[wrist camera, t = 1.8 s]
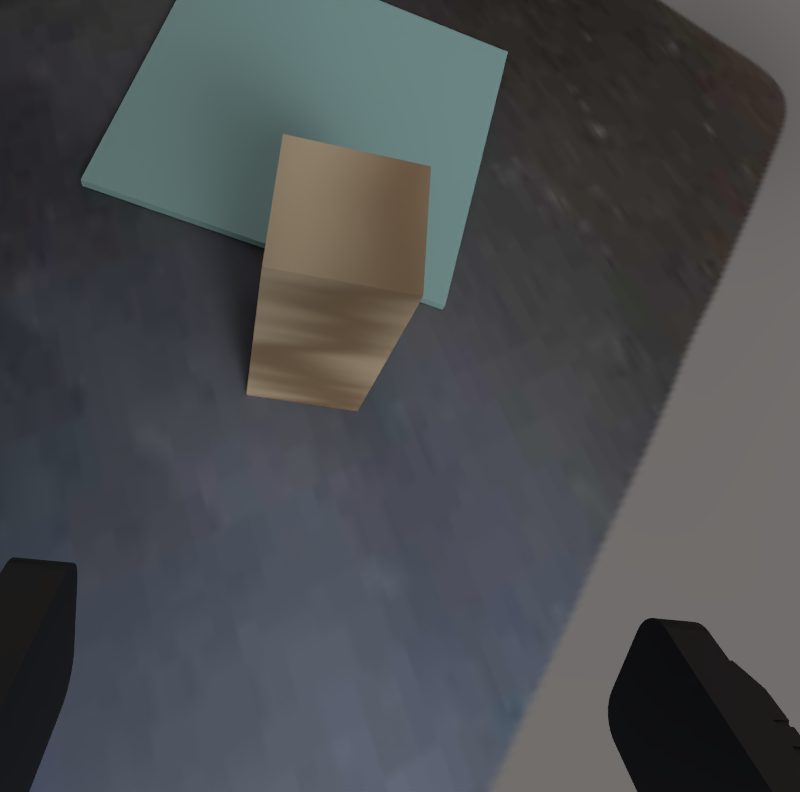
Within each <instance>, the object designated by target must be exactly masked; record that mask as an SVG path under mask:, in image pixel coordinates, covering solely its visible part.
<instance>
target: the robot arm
mask: <svg viewBox="0 0 800 792" xmlns="http://www.w3.org/2000/svg"><path fill="white" fill-rule="evenodd" d="M76 596H77V566H76V564H75V563H69V562H58V561H47V560H36V559H25V558H11V559H10V560H9V561H8V562H7V563H6V565H5V566H4V568H3V569H2V571H1V573H0V792H29V791H30V788H31V786H32V783H33V780H34V778H35V775H36V773H37V770H38V768H39V765H40V762H41V760H42V757H43V755H44V752H45V749H46V747H47V744H48V742H49V739H50V737H51V734H52V731H53V729H54V726H55V724H56V721H57V719H58V716H59V713H60V711H61V708H62V705H63V703H64V699H65V696H66V693H67V689H68V685H69V681H70V676H71V671H72V665H73V657H74V639H75V617H76ZM608 719H609V726H610V731H611V734H612V737H613V740H614V742H615V744H616V747H617V749H618V751H619V753H620V755H621V757H622V760H623V762H624V764H625V766H626V768H627V770H628V772H629V775H630V777H631V779H632V781H633V783H634V785H635V788H636V789H637V792H800V735H799V733H798V732H797V731H796V729H795V728H794V727H790V726H789V720H788V719H787V718H786V716H785V715H784V713H783V712H782V711H781V709H780V708H779V707H778V705H777V704H776V703H775V701H774V700H773V699H772V697H771V696H770V695H769V693H768V692H767V691H766V689H765V688H763V687H762V686H761V685H760V684H759V683H758V682H757V681H755V680H754V679H753V678H752V677H751V676H750V675H748V674H747V673H746V672H745V671H744V670H742V669H741V668H740V667H739V666H738V665H737V664H736V663H734V662H733V661H730V660H729V659H728V658H727V656H726V655H725V654H724V652H723V651H722V649H721V648H720V647H719V645H718V644H717V643H716V641H715V640H714V638H713V637H712V636H711V634H710V633H709V632H708V630H707V629H706V628H705V627H704V626H702V625H701V624H699V623H696V622H688V621H677V620H666V619H656V618H649V619H647V620H645V621H644V622H643V623H642V624H641V625H640V627H639V629H638V631H637V633H636V635H635V638H634V640H633V642H632V645H631V647H630V649H629V652H628V654H627V657H626V659H625V661H624V664H623V666H622V669H621V671H620V673H619V675H618V678H617V680H616V682H615V685H614V687H613V689H612V692H611V695H610V699H609V706H608Z"/></svg>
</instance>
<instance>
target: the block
mask: <svg viewBox="0 0 800 792" xmlns="http://www.w3.org/2000/svg"><path fill="white" fill-rule="evenodd" d="M430 176H431V166H427V165H423V164H418V163H414V162H409V161H404V160H400V159H395V158H391V157H386V156H382V155H377V154H373V153H368V152H363V151H359V150H354V149H350V148H345V147H341V146H336V145H331V144H327V143H322V142H318V141H313V140H309V139H304V138H300V137H295V136H290V135H286V134H283V137H282V143H281V149H280V156H279V162H278V168H277V175H276V181H275V187H274V194H273V200H272V206H271V213H270V219H269V225H268V232H267V238H266V244H265V251H264V257H263V263H262V270H261V279H260V287H259V295H258V303H257V311H256V319H255V328H254V336H253V344H252V352H251V360H250V368H249V377H248V385H247V393H246V395H250V396H257V397H264V398H271V399H278V400H285V401H292V402H299V403H305V404H312V405H319V406H326V407H333V408H340V409H347V410H354V411H358V410H359V408H360V406H361V404H362V403H363V401H364V399H365V397H366V396H367V394H368V392H369V390H370V389H371V387H372V385H373V383H374V382H375V380H376V378H377V376H378V375H379V373H380V371H381V369H382V368H383V366H384V364H385V362H386V361H387V359H388V357H389V355H390V353H391V352H392V350H393V348H394V346H395V345H396V343H397V341H398V339H399V338H400V336H401V334H402V332H403V331H404V329H405V327H406V325H407V324H408V322H409V320H410V318H411V317H412V315H413V313H414V311H415V310H416V308H417V306H418V304H419V303H420V301H421V299H422V297H423V292H424V276H425V259H426V243H427V226H428V209H429V193H430Z"/></svg>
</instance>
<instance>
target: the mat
mask: <svg viewBox="0 0 800 792" xmlns="http://www.w3.org/2000/svg"><path fill="white" fill-rule="evenodd" d="M507 53H508V52H507V51H504V50H502V49H499V48H497V47H494V46H492V45H489V44H487V43H484V42H482V41H479V40H477V39H474V38H472V37H469V36H467V35H464V34H462V33H459V32H457V31H454V30H452V29H449V28H447V27H444V26H442V25H439V24H437V23H434V22H432V21H429V20H427V19H424V18H422V17H419V16H417V15H414V14H412V13H409V12H407V11H404V10H402V9H399V8H397V7H394V6H392V5H389V4H387V3H384V2H382V1H379V0H176V2H175V4H174V6H173V7H172V9H171V11H170V13H169V15H168V17H167V19H166V21H165V22H164V24H163V26H162V28H161V30H160V32H159V34H158V36H157V37H156V39H155V41H154V43H153V45H152V47H151V49H150V51H149V52H148V54H147V56H146V58H145V60H144V62H143V64H142V66H141V67H140V69H139V71H138V73H137V75H136V77H135V79H134V81H133V82H132V84H131V86H130V88H129V90H128V92H127V94H126V96H125V97H124V99H123V101H122V103H121V105H120V107H119V109H118V111H117V112H116V114H115V116H114V118H113V120H112V122H111V124H110V126H109V127H108V129H107V131H106V133H105V135H104V137H103V139H102V141H101V142H100V144H99V146H98V148H97V150H96V152H95V154H94V156H93V157H92V159H91V161H90V163H89V165H88V167H87V169H86V171H85V172H84V174H83V176H82V178H81V183H82V186H84V187H87V188H90V189H93V190H96V191H99V192H102V193H105V194H107V195H110V196H113V197H116V198H119V199H122V200H125V201H128V202H131V203H134V204H137V205H139V206H142V207H145V208H148V209H151V210H154V211H157V212H160V213H163V214H166V215H169V216H171V217H174V218H177V219H180V220H183V221H186V222H189V223H192V224H195V225H198V226H201V227H203V228H206V229H209V230H212V231H215V232H218V233H221V234H224V235H227V236H230V237H232V238H235V239H238V240H241V241H244V242H247V243H250V244H253V245H256V246H259V247H262V248H264V249H265V244H266V238H267V232H268V225H269V219H270V213H271V206H272V200H273V194H274V187H275V181H276V175H277V168H278V162H279V156H280V149H281V143H282V137H283V134H286V135H290V136H295V137H300V138H304V139H309V140H313V141H318V142H322V143H327V144H331V145H336V146H341V147H345V148H350V149H354V150H359V151H363V152H368V153H373V154H377V155H382V156H386V157H391V158H395V159H400V160H404V161H409V162H414V163H418V164H423V165H427V166H431V176H430V193H429V209H428V226H427V243H426V259H425V276H424V292H423V297H422V299H421V301H420V302H422V303H424V304H427V305H430V306H433V307H436V308H439V309H442V310H443V308H444V307H445V304H446V300H447V296H448V292H449V288H450V284H451V280H452V276H453V272H454V268H455V264H456V259H457V255H458V251H459V247H460V243H461V239H462V235H463V231H464V227H465V223H466V219H467V215H468V211H469V207H470V203H471V199H472V195H473V191H474V187H475V183H476V179H477V175H478V170H479V166H480V162H481V158H482V154H483V150H484V146H485V142H486V138H487V134H488V130H489V126H490V122H491V118H492V114H493V110H494V106H495V102H496V98H497V94H498V90H499V86H500V81H501V77H502V73H503V69H504V65H505V61H506V57H507Z"/></svg>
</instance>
